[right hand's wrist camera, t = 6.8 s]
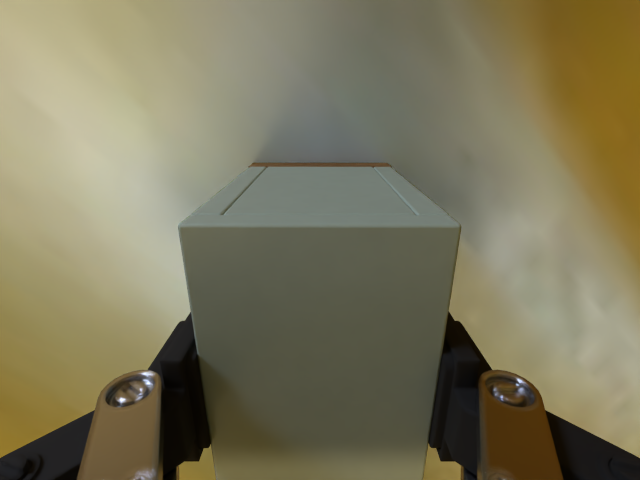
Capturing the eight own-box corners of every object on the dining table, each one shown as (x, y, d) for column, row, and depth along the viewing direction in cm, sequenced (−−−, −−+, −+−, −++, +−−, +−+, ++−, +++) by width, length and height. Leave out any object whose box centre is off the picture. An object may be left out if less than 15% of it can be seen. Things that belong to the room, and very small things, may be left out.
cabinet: (365, 485, 23) (390, 698, 14) (274, 485, 23) (248, 697, 14) (387, 163, 15) (463, 223, 7) (253, 162, 15) (175, 223, 7)
